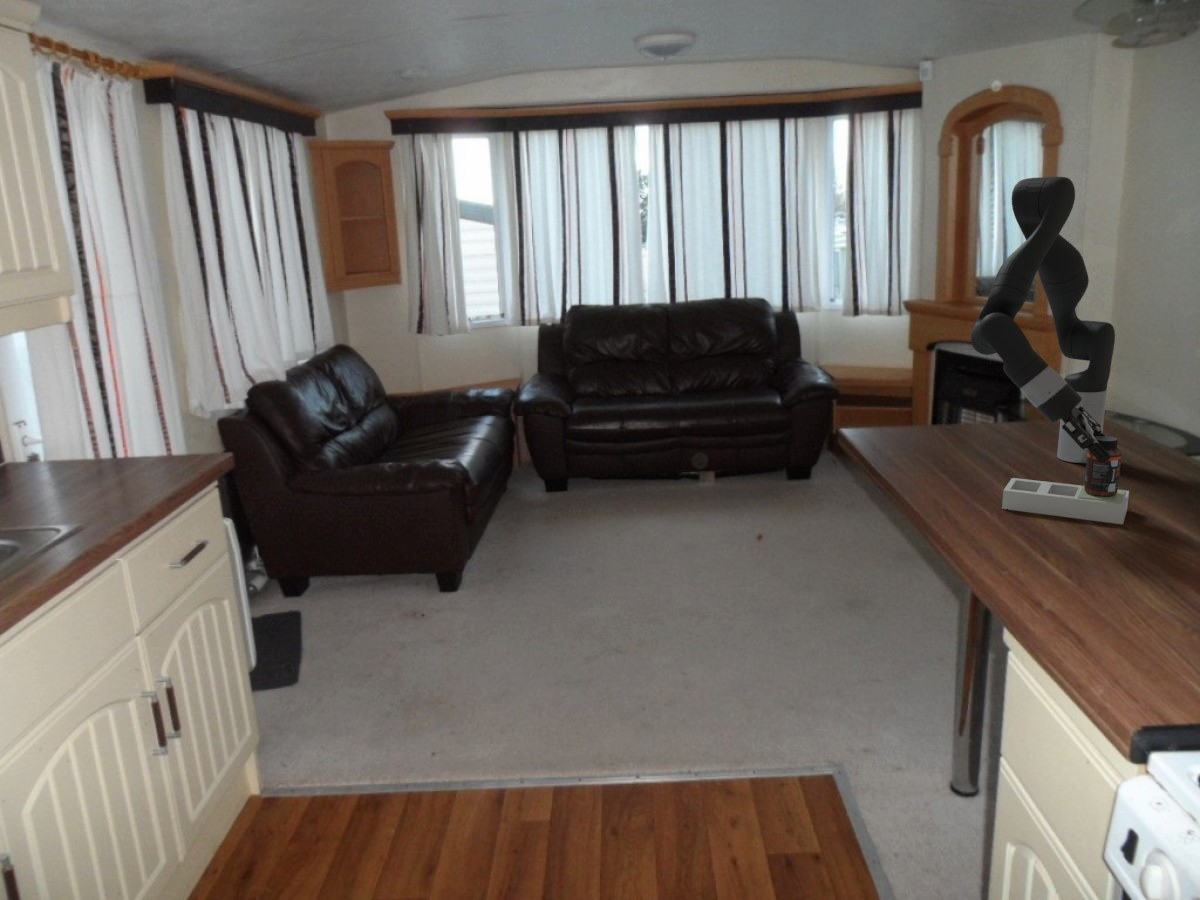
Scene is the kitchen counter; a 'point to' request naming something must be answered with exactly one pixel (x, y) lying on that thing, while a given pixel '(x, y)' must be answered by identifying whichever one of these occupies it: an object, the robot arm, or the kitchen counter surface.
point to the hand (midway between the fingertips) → (1109, 455)
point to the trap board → (1064, 501)
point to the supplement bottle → (1103, 469)
